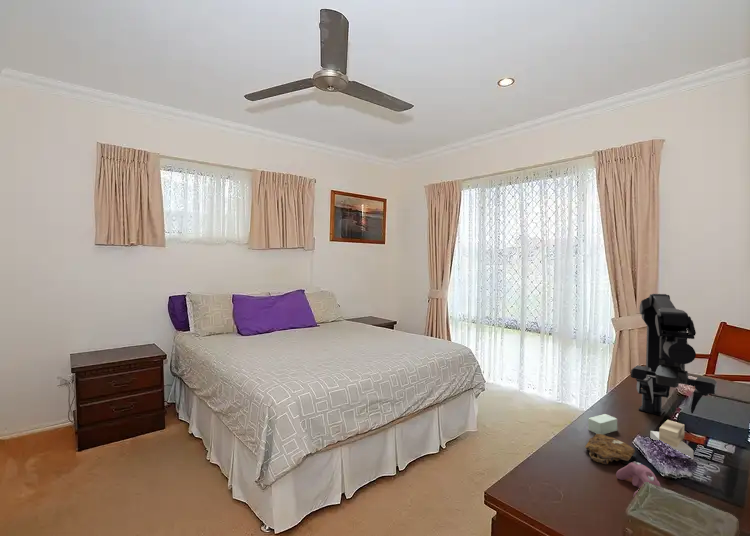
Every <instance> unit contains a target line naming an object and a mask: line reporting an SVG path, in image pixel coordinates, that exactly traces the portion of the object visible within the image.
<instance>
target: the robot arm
mask: <svg viewBox="0 0 750 536" xmlns="http://www.w3.org/2000/svg"><path fill="white" fill-rule="evenodd" d="M639 304H640V305H639V315H641V319H642V320H643V322H644V324H645V325H646V343H645V344H646V345H645V347H646V349H645V351H646V353H645V354H646V357H645V366H644V365H636V366H634V367H632V369H631V370H630V378H633V379H635V380H636V391H637V393H638V394H639V395H641V406H640V407H638V411H641V412H645V413H647V414H653V415H655V416H656V415H657V416H662V415H663V413H665V412H666V410H665V409H666V408H665V409H664V408H663V398H667V399H669V397H670V390H671V388H673V389H674V388H678V387H679V384H680V385H685V386H691V387H694V390H693V391H692V392H693V393H692V394H693V395H692V400H691V406H690V414H694V411H696V408H697V406H698V404H699V401H700V400H701V398H702V397H704V396H705V397H709V395H715V394H716V392H717V391H718V381H716V380H715V378H714V379H713V378H708V377H702V376H697V377H696V379H693V378H689V371H688V370H686V365H688V364H690V363H693V361H695V359H696V357H697V356H696V355H697V353H696V351H695V349H694V347H693V346H691V345H690V344H689V343H688V340H689V339H690V340H695V336H696V334H697V332H696V329H695V324H694V321H693V320H692V317H691V316H689V315H688V314H689V313H687V312H686V311H685V310H683V309H678V308H676V306H675V305H674V303H673V301H672V300H671V296H670V295H669V294H666V293H651V294H649V295H648V297H646V298H644V299H642V300H641V302H640V303H639Z"/></svg>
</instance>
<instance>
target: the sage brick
mask: <svg viewBox="0 0 750 536" xmlns="http://www.w3.org/2000/svg"><path fill="white" fill-rule="evenodd" d="M587 421H588V425H587V427H588V428H587V429H588V431H589V432H592V433H595V435H596V434H603V435H606V434H609V433H613V432H617V431H618V418H616V417H615V416H611V415H609V414H606V413H603V414H599V415H595V416H592V417H589V418H588V419H587Z"/></svg>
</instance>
